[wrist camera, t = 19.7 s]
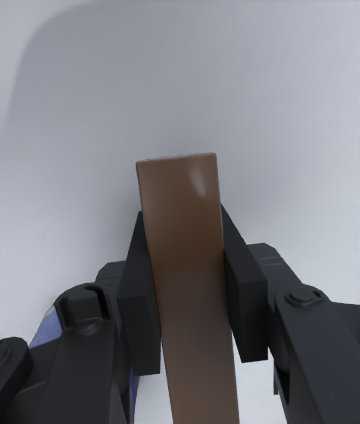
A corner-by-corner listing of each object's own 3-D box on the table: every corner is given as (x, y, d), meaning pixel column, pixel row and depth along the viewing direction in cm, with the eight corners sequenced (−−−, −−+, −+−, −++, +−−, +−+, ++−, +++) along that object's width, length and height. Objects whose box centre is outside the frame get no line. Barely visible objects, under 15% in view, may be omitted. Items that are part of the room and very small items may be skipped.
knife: (146, 159, 12) (134, 162, 8) (200, 153, 13) (216, 152, 8) (193, 501, 17) (202, 622, 12) (233, 495, 17) (256, 615, 12)
